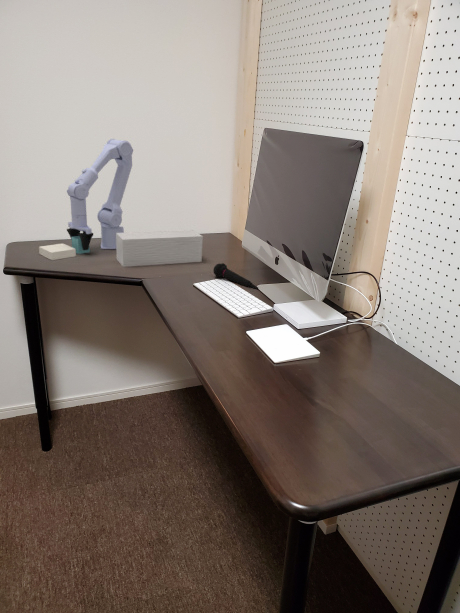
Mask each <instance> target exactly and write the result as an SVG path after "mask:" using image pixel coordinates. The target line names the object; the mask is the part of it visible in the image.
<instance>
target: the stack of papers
mask: <svg viewBox="0 0 460 613" xmlns="http://www.w3.org/2000/svg"><path fill="white" fill-rule="evenodd" d="M116 240H117V241H116V247H117V248H116V249H115V250H116V260H117V261H118V262H119V264H120V265H121V267H122V268H129V267H140V266H143V267H144V266H154V265H156V266H157V265H158V266H159V265H170V264H171V265H172V264H186V263H187V264H188V263H200V262H202V260H203V240H204V235H202V234H200V233H198V232H197V231H195V230H194V229H192V230H191V229H190V230H188V229H186V230H185V229H184V230H163V231H161V230H159V231H133V232H130V231H129V232H124V233H116Z"/></svg>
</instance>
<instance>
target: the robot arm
mask: <svg viewBox="0 0 460 613" xmlns="http://www.w3.org/2000/svg"><path fill="white" fill-rule="evenodd" d="M133 152H134V148H133V147H132V144H131V143H130V142H129V141H127V140H121V139H115V138H110V139H109V140H108V141H107V142H106V143H105V144H103V148H102V150H101V152H100V154H99V155H98V156H97V157H96V159H95V160H94V162H93V164H92V165H91V166H90V167H86V168H83V169H82V171H81V174H80V175H79V176H78V177H77V178H76V179H75V180H74V182H72V183H70V184H69V185H68V188H67V190H66V193H67V195H68V196H69V199H70V214H71V221H69V222H67V225H68V228H66V232H67V234H68V235H69V237H70V239H71V237H74V236H80V239H81V242H82V248H83V250H88V249H89V247H90V244H91V240H92V238H93V236H94V233H93V232H92V228H91V227H90V226H89V225H88V219H87V216H88V215H87V198H88V196H89V194H90V192H89V191H90V189H91V188H92V187H93V185H94V184H95V183H96V181H97V180H98V178H99V172H100V171H101V170H103V168H104V167H105V166H106V165H107V164H108V163H109V162H110V161H111V160H115V163H116V164H117V167H116V170H115V173H114V177H113V181H112V184H111V187H110V190H109V194H108V197H107V201H106V202H104V203H103V204H102V206H101V208H100V210H99V211H98V213H97V220H98V222H99V223H100V229H101V230H100V232H101V236H100V237H101V243H100V249H101V250H116V248H117V247H116V241H117V240H116V233H125V230H124V226H121V224H122V221H123V219H122V215H123V209H122V207H121V203H122V202H123V201H122V200H123V198H124V194H125V192H126V187H127V184H128V181H129V177H130V174H131V171H132V167H133ZM71 241H72V239H71Z"/></svg>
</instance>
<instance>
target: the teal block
mask: <svg viewBox="0 0 460 613" xmlns="http://www.w3.org/2000/svg"><path fill="white" fill-rule="evenodd" d="M70 239H72V240H71V247H72V248H75V249H76V255H77V254H78V255H80V254H82V255H83V254H87V253H90V251H91V249H90V246H89V249H88V250H83V248H82V242H81V239H80V236H74V237H70Z"/></svg>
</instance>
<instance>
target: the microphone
mask: <svg viewBox="0 0 460 613" xmlns="http://www.w3.org/2000/svg"><path fill="white" fill-rule="evenodd" d="M213 274H214V275H215V277H216V278H218V279H220V278H225V279H226V280H228V281H229V280H230V282H231V283H235V284H236V283H237V284H239V285H242V286H244V287H248V288H251V289H255V290H259V287H258V286H256V284H253V282H252V281H250V280H248V279H247V278H245V277H243V276H241V275H240V274H238V273H236V272H235V271H233V270H231V269H229V268H228V266H227V265H226V264H225V263H223V262H222V263H217V264H215V266H214V267H213Z"/></svg>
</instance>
